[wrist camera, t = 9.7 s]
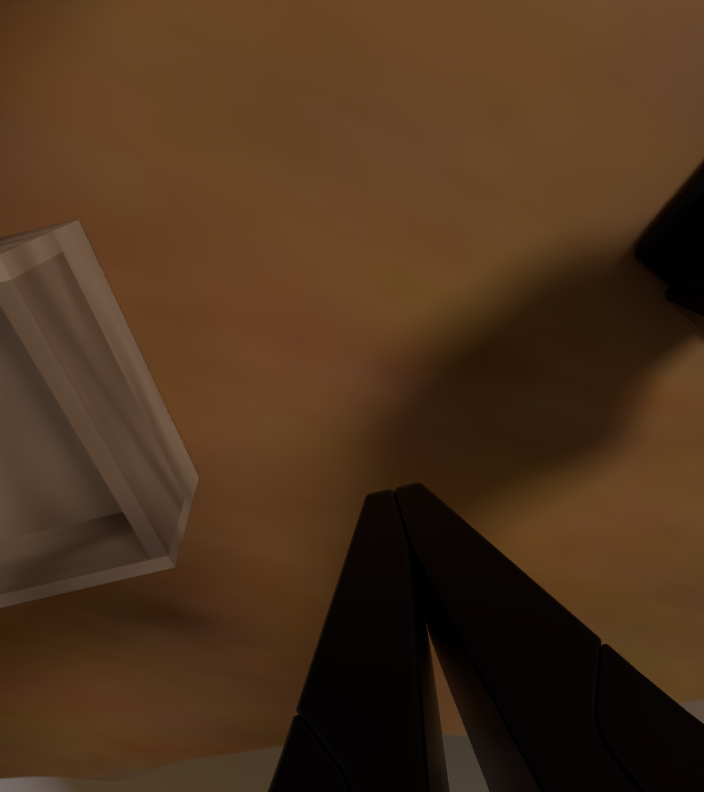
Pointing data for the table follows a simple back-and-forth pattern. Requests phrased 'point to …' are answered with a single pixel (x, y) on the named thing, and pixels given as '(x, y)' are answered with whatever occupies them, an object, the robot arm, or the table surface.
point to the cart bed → (79, 429)
